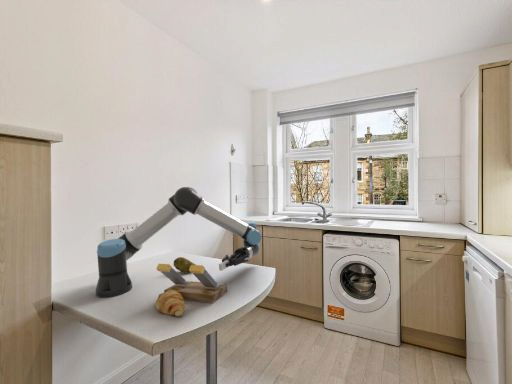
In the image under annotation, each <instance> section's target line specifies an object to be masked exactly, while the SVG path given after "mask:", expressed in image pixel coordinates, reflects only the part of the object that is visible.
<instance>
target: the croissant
mask: <svg viewBox="0 0 512 384" xmlns="http://www.w3.org/2000/svg"><path fill="white" fill-rule="evenodd" d="M155 308H156V310H157V311H159V312H160V313H162V314H164V315H170V316H175V317H181V316H183V315H184V313H185V311H186V310H185V309H186V304H185V300H183V297H182V296H181V294H180V293H179V292H177V291H175V290H169V291H166V292H164V291H163V293H159V294H158V297H157V298H156V303H155Z"/></svg>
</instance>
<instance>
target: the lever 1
mask: <svg viewBox="0 0 512 384" xmlns="http://www.w3.org/2000/svg"><path fill="white" fill-rule="evenodd" d="M155 268H156V271H158V272H160V273H161V274H162V275H163V276H165V277H166V278H167V279H168V280H170V281H171V282H172V283H173V285H175V284H181V285H187V284H188V281H189V280H186V279H185V278H184V277H183V276H182V275H180V273H178V272H177V271H176V270H175V269H174V268H173V266H172V265H171V264H169V263H158V264H157V267H155Z"/></svg>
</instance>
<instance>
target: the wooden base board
mask: <svg viewBox="0 0 512 384" xmlns="http://www.w3.org/2000/svg"><path fill="white" fill-rule="evenodd" d="M187 281H188V284H187V285H181V284H173V285H171V286H169V287H167V288H165V289H164V291H163V293H164V292H166V291H169V290H175V291H177V292H179V293H180V294H181V296H182V297H183V300H184V301H191V302H192V301H193V302H201V303H206V304H207V303H209V304H214V303H215V302H217V301H218V300H219V299H220V298H222V297H223V296H224V295H225V294H227V293H228V284H223V283H218V284H219V288H211V287H204V285H203V284H202V283H201V282H200V281H192V280H187Z"/></svg>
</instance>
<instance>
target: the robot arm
mask: <svg viewBox="0 0 512 384" xmlns="http://www.w3.org/2000/svg"><path fill="white" fill-rule="evenodd" d="M187 213H190V214H192V215H194V216H196V215H198V216H200V217H202V218H204V219H206V220H208V221H210V222H212V223H213V224H215V225H217V226H218V227H221V228H223V229H224V230H227V231H228V232H230V233H232V234H234V235H235V236H237V237H239V238H240V239H243V240H242V241H243V242H242V243H243V246H241V247H238V248H236V250H235V251H234V253H232V254H230V255H228V254H225V256H224V257H223V258H222V259H221V263H219V264H218V269H219V270H218V271H223V270H225V269H227V268H229V267H232V266H234V267H236V266H239V265H240V264H244V263H246V262H249V259H251V258H253V257H255V256H256V255H257V254H258V253H259V252H260V249H261V247H260V244H259V243H261V241H262V238H263V237H262V234H261V232H260V231H259V229H257V226H256V225H257V224H256V222H255V221H245V222H244V221H242V220H240V219H239V218H237V217H235V216H233V215H231V214H229V213H227V212H225V210H223V209H220V208H218V207H217V206H215V205H213V204H212V203H209V202H208V201H206V200H205V197H203V196H201V195H200V194H198V192H197V190H195V189H194V188H193V187H189V186H184V187H180V188H179V189H177V190H176V191H175V193H174V194H173V195H172V196H171V197H169V198H168V201H167V203H166V204H165V205H163V206H162V207H161V208H159V209H158V210H157V211H155V213H154V214H152V215H151V216H149V217H148V218H147V219H146V220H145V221H143V222H142V223H141V224H139V225H138V226H136V228H134V229H133V230H132V231H126V232H125V233H123V234H122V235H120V236H119V237H117V238H113V239H107V240H104V241H102V242H100V243H98V245H97V250H96V254H97V267H98V280H97V283H96V286H95V296H96V297H97V296H99V297H98V298H110V297H111V298H112V297H115V296H119V295H123V294H125V293H127V292H129V291H131V290H132V289H133V282H132V280H131V277H130V276H129V273H128V265H127V261H128V260H129V259H131V258H132V257H133V256H134V255H135V254H137V253H138V252H139V251H141V249H143V244H144V243H147V241H149V239H151V238H152V237H153V236H154V235H155V234H157V233H158V232H159V231H160V230H162V229H163V228H165V226H167V225H168V224H169V223H171V222H172V221H173V220H174V219H176V218H178V216H185V214H187Z"/></svg>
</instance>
